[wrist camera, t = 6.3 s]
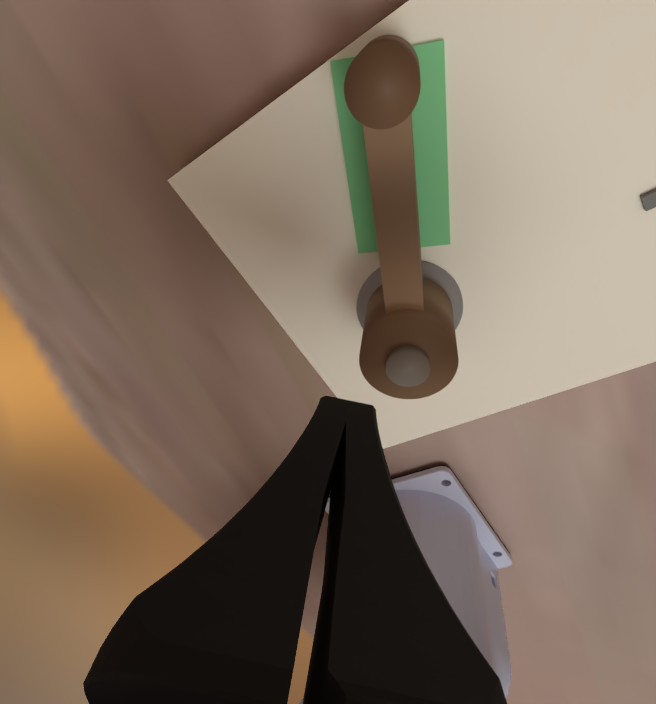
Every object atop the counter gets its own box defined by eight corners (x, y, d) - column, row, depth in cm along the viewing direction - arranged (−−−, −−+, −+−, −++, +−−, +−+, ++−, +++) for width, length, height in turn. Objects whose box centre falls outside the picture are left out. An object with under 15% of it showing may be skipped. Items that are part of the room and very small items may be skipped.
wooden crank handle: (453, 346, 19) (460, 405, 16) (371, 350, 19) (364, 408, 17) (444, 23, 13) (452, 31, 10) (326, 46, 13) (304, 60, 11)
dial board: (899, 250, 16) (943, 273, 15) (380, 428, 25) (378, 453, 23) (883, -354, 10) (959, -410, 8) (183, 168, 18) (165, 182, 17)
